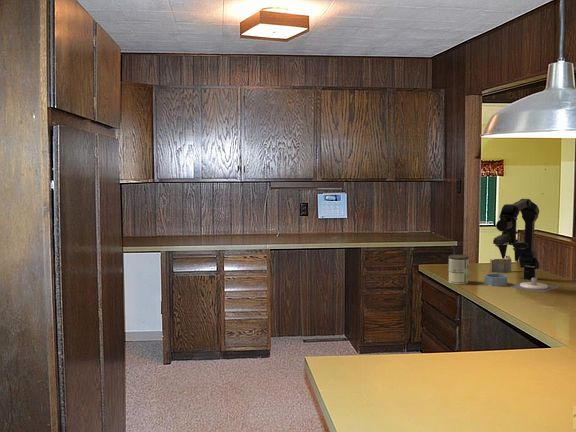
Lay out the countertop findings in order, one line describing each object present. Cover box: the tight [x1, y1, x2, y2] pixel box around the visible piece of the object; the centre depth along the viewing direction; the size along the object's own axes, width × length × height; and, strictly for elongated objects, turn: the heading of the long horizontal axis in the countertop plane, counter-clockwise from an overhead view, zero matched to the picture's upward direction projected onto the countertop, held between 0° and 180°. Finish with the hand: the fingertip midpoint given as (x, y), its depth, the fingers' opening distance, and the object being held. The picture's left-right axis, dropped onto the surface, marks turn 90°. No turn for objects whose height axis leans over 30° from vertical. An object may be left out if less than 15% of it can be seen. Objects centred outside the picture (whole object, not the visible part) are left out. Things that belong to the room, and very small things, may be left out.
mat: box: [508, 281, 560, 293], centre depth 299 cm, size 18×18×1 cm
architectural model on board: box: [489, 255, 512, 273], centre depth 342 cm, size 11×3×10 cm, turn 91°
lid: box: [519, 277, 549, 290], centre depth 298 cm, size 13×13×4 cm
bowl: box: [483, 273, 508, 287], centre depth 307 cm, size 11×11×5 cm
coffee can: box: [448, 254, 470, 285], centre depth 314 cm, size 10×10×14 cm
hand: (509, 259), depth 300 cm, fingers open, 9 cm apart
